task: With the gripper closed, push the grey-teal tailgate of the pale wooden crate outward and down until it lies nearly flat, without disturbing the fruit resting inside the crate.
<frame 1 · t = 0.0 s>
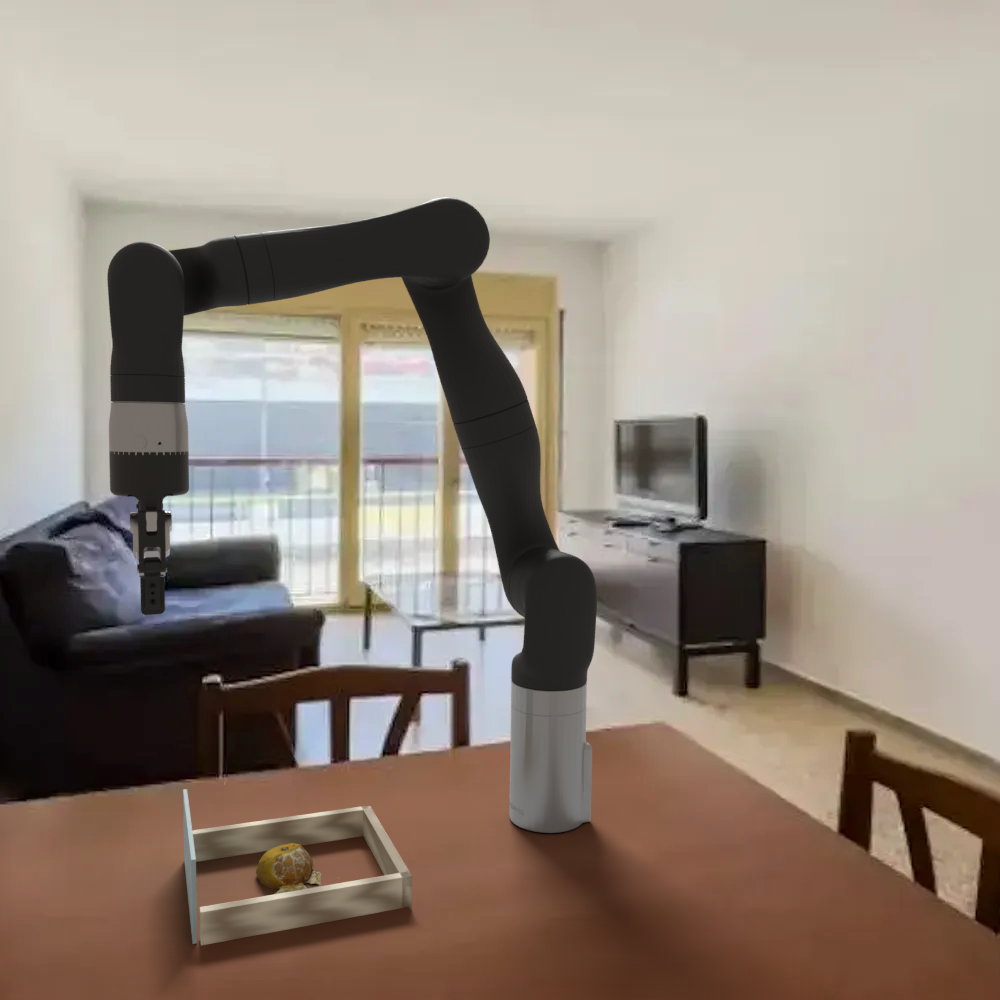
hand: (152, 605, 94), 29 cm above the table, tool pointing down, fingers open, 8 cm apart
fruit: (294, 891, 96), on the table
tailgate: (189, 860, 92), point 4 cm above the table, hinge at 0.0°
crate: (281, 886, 95), on the table
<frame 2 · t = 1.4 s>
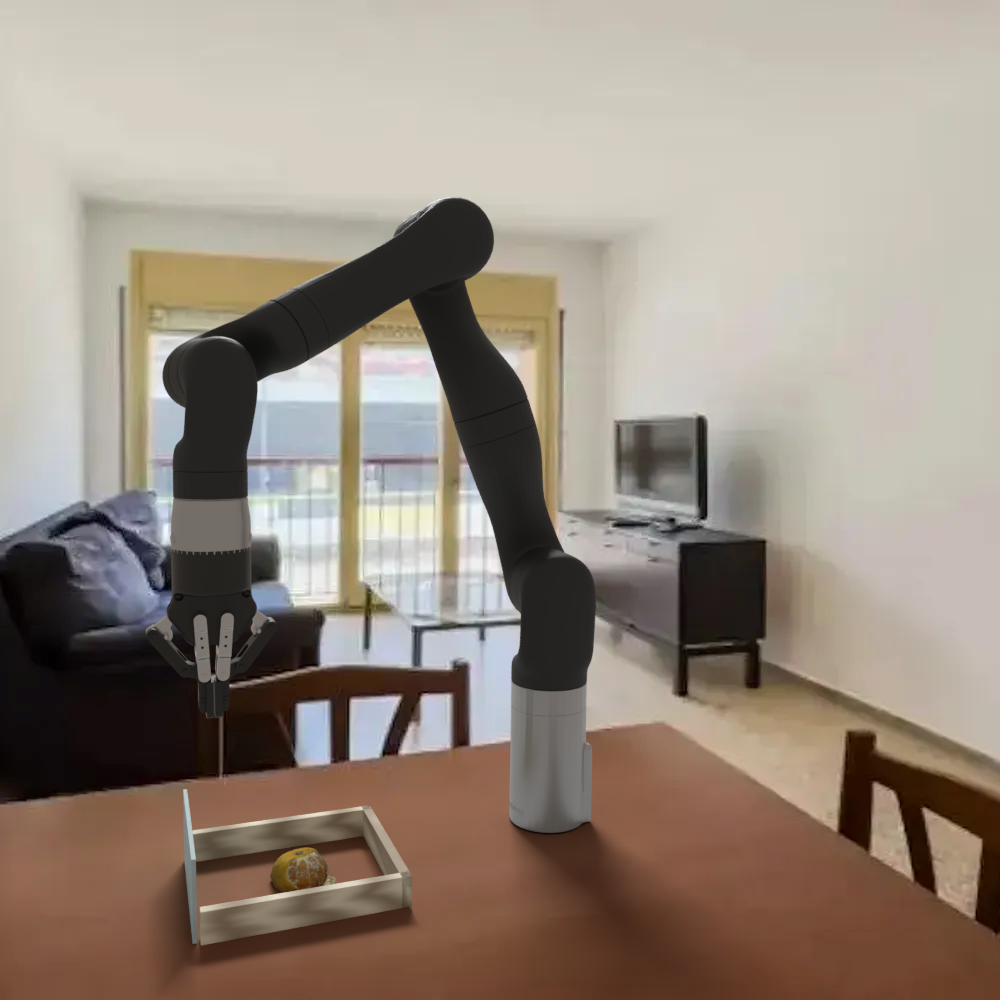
hand: (213, 715, 91), 19 cm above the table, tool pointing down, fingers closed
fruit: (308, 895, 95), on the table
everything else where it was.
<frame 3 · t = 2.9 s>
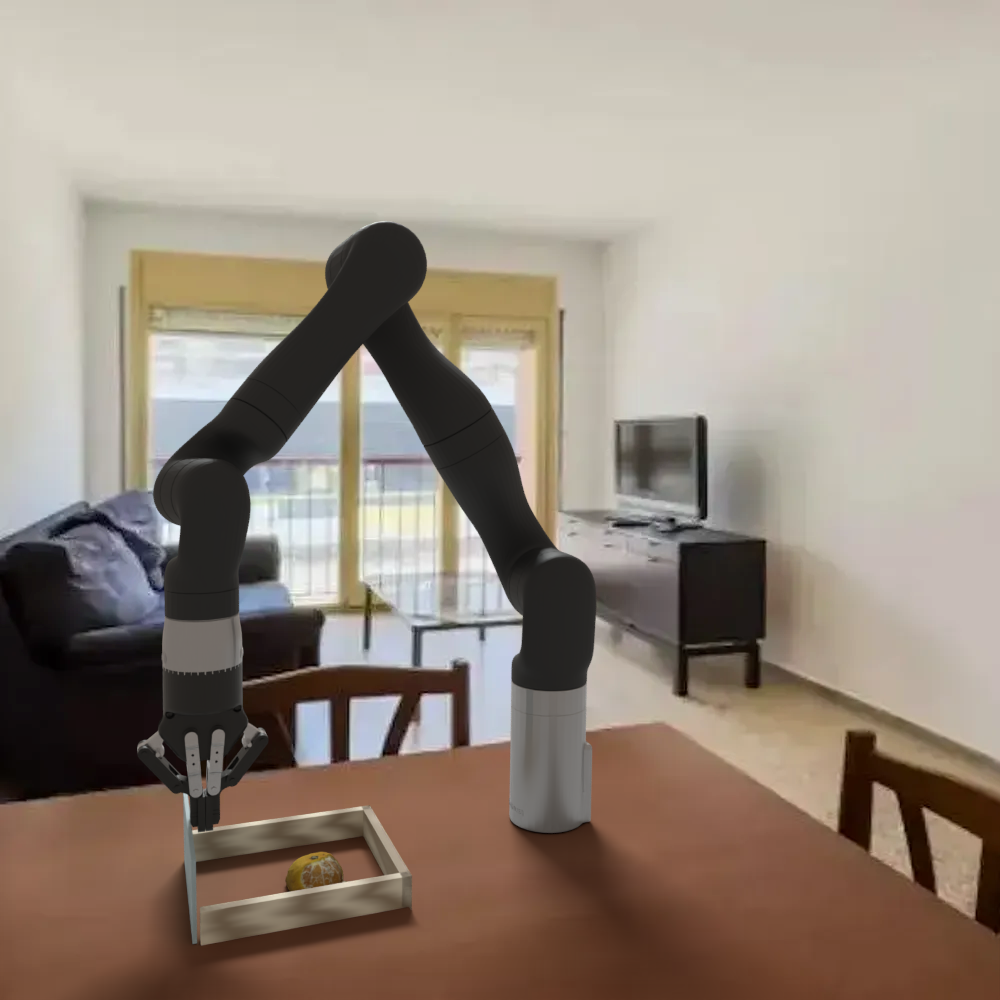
hand: (204, 828, 92), 7 cm above the table, tool pointing down, fingers closed
fruit: (323, 901, 94), on the table
tailgate: (189, 860, 92), point 4 cm above the table, hinge at 0.0°, touching gripper
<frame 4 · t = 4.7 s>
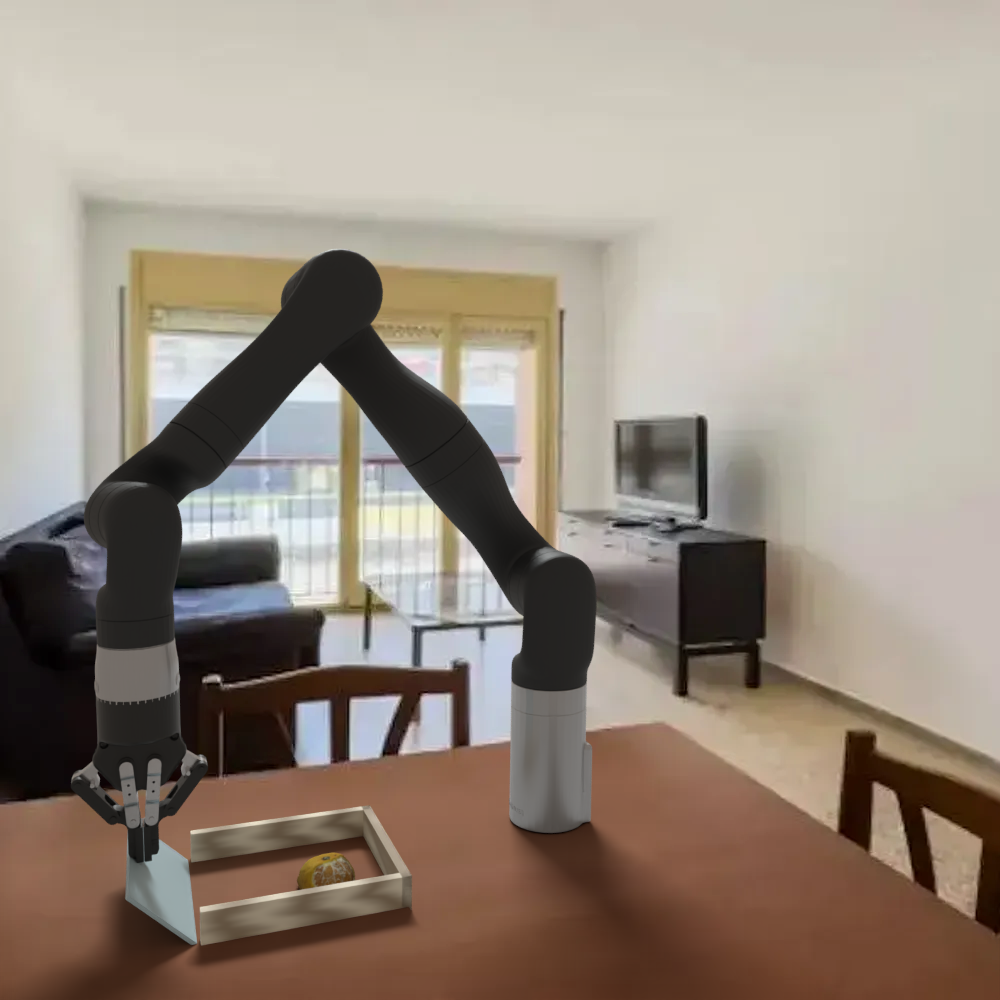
hand: (143, 858, 90), 5 cm above the table, tool pointing down, fingers closed
fruit: (334, 902, 93), on the table
tailgate: (159, 877, 91), point 3 cm above the table, hinge at 45.8°, touching gripper
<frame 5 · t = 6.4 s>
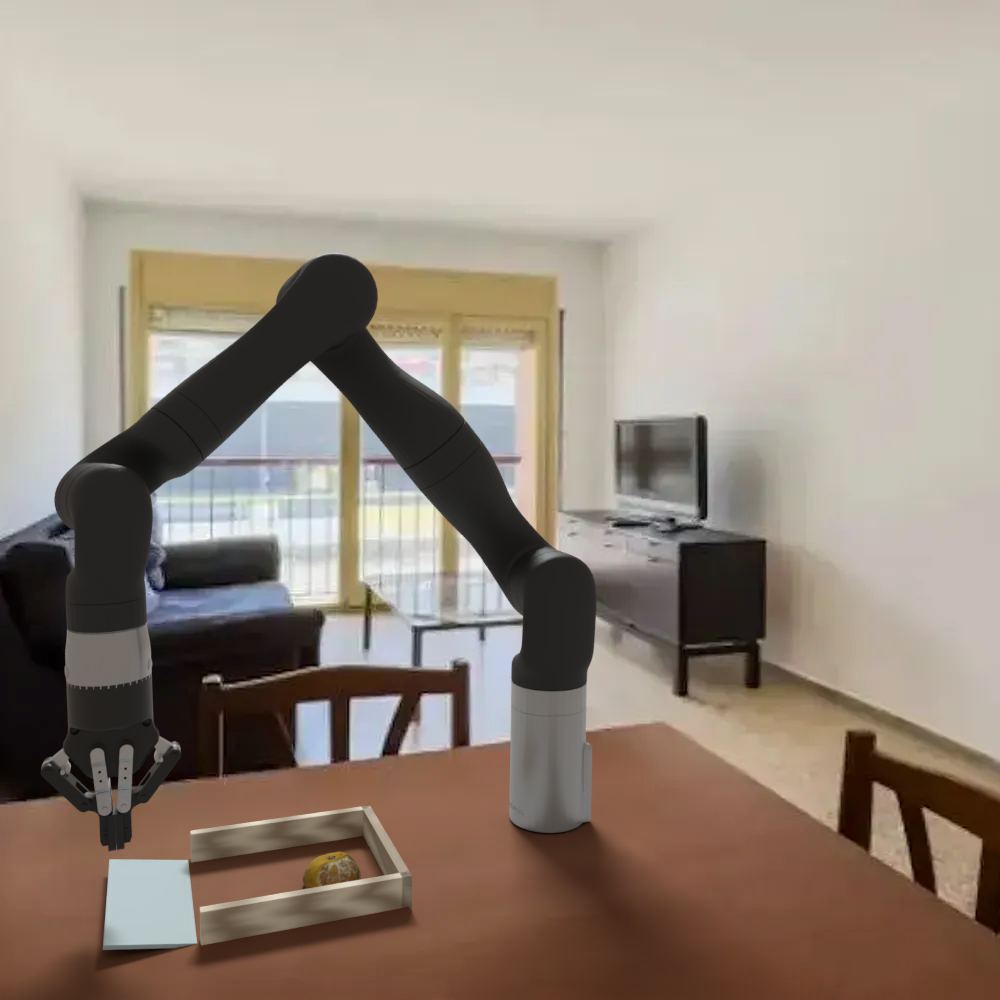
hand: (116, 846, 89), 7 cm above the table, tool pointing down, fingers closed
tailgate: (149, 900, 91), point 1 cm above the table, hinge at 79.9°
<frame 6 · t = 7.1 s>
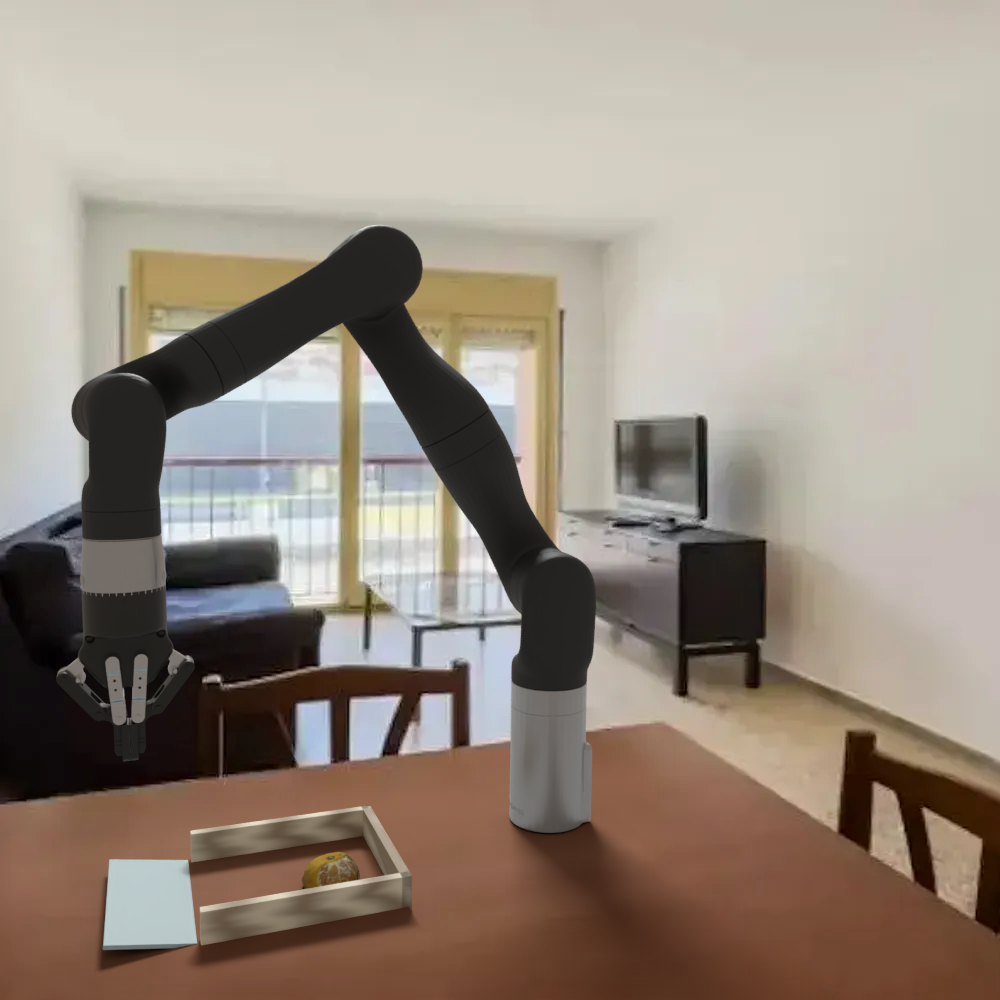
hand: (130, 757, 90), 15 cm above the table, tool pointing down, fingers closed
nothing on the table moved.
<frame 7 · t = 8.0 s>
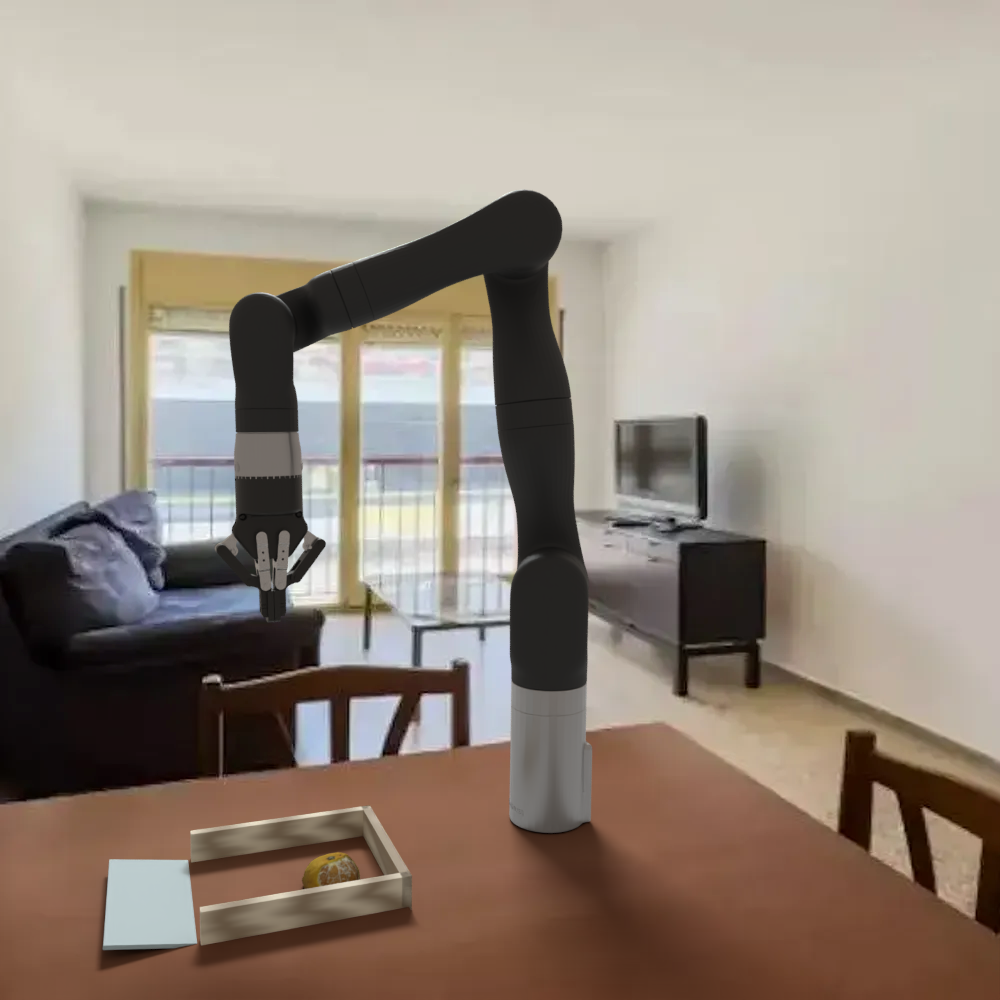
hand: (272, 620, 107), 25 cm above the table, tool pointing down, fingers closed
nothing on the table moved.
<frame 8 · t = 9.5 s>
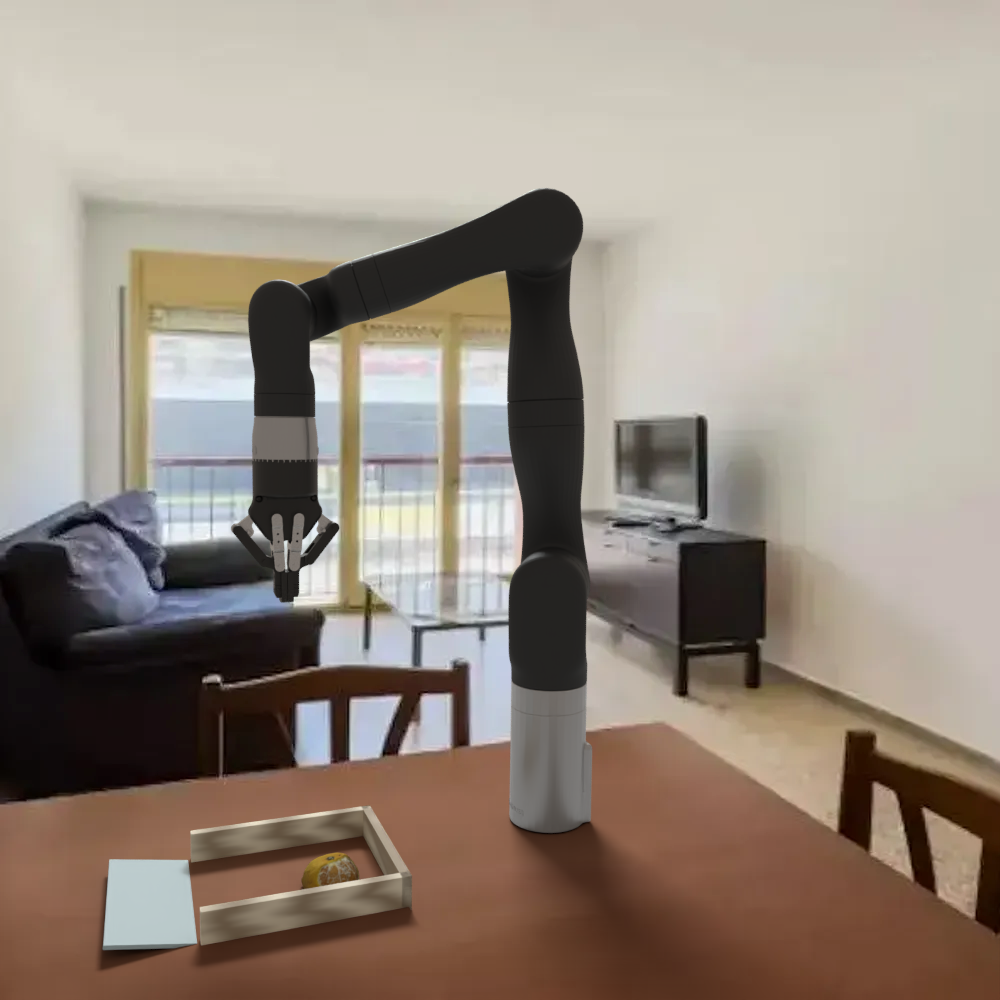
hand: (286, 601, 109), 27 cm above the table, tool pointing down, fingers closed
nothing on the table moved.
at the end: tailgate at +80° (first picture: +0°); fruit inside the target area (7.0 cm from its centre), on the table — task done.
